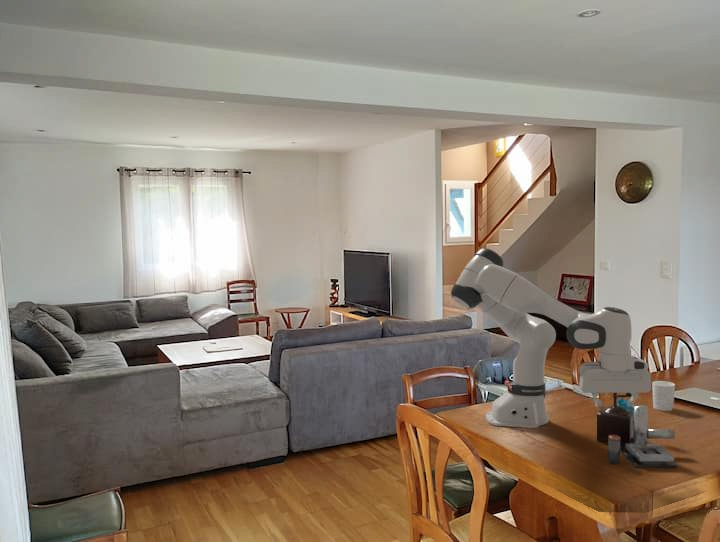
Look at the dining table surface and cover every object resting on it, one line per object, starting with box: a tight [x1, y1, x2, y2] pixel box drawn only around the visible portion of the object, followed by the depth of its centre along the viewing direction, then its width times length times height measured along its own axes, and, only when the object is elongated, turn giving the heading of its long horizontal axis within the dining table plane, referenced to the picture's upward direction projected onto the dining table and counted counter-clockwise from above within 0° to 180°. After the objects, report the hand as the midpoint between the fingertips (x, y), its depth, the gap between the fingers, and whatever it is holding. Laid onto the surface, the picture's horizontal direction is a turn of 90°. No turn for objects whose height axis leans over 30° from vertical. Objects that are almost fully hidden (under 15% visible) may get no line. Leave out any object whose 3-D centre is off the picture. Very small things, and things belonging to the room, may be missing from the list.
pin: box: [607, 435, 621, 465], centre depth 181 cm, size 3×3×8 cm
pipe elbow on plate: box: [620, 404, 678, 469], centre depth 184 cm, size 16×16×15 cm
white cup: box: [651, 380, 676, 412], centre depth 232 cm, size 8×8×10 cm
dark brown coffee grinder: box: [596, 393, 634, 445], centre depth 203 cm, size 16×11×18 cm
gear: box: [617, 397, 634, 422], centre depth 221 cm, size 11×6×10 cm
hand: (614, 406), depth 180 cm, fingers open, 8 cm apart
